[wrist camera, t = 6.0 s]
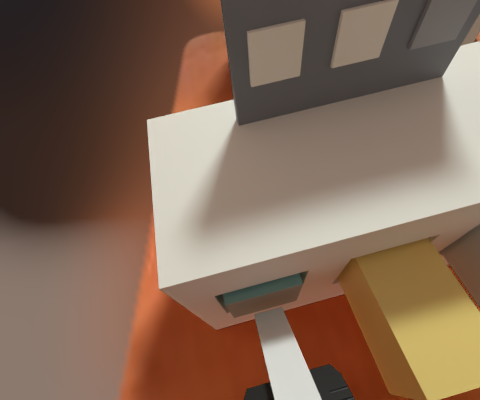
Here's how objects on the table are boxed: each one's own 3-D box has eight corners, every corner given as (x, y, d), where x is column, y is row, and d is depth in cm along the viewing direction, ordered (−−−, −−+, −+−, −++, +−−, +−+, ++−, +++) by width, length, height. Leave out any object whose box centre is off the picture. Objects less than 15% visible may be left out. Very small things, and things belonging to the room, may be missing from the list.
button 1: (255, 182, 22) (253, 148, 18) (296, 300, 17) (303, 283, 13) (207, 194, 21) (196, 162, 18) (234, 318, 16) (225, 305, 13)
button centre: (370, 218, 19) (392, 186, 16) (461, 372, 14) (522, 374, 11) (317, 233, 19) (328, 203, 15) (389, 394, 14) (428, 403, 10)
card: (435, 70, 15) (537, -112, 10) (444, 78, 15) (557, -108, 9) (236, 118, 15) (214, -45, 9) (239, 128, 14) (219, -37, 9)
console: (404, 168, 28) (492, 38, 17) (472, 258, 22) (669, 151, 11) (197, 222, 26) (147, 119, 16) (216, 329, 21) (158, 289, 10)
